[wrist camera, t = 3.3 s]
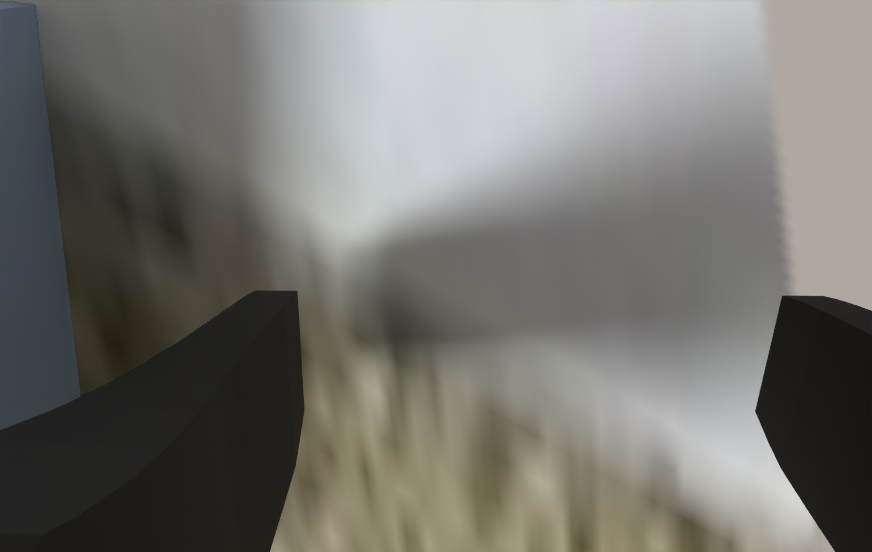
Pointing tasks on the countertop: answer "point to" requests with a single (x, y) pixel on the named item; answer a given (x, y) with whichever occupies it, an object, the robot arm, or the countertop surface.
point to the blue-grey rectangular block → (30, 236)
